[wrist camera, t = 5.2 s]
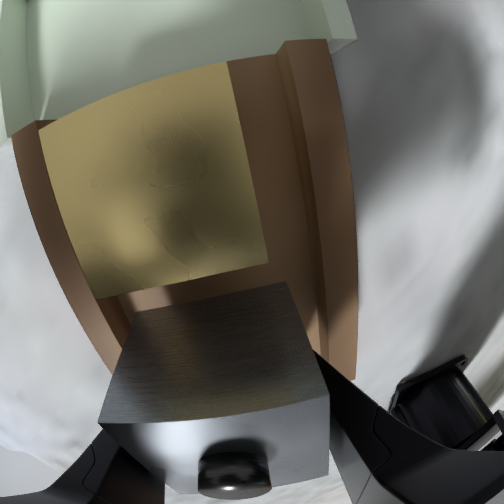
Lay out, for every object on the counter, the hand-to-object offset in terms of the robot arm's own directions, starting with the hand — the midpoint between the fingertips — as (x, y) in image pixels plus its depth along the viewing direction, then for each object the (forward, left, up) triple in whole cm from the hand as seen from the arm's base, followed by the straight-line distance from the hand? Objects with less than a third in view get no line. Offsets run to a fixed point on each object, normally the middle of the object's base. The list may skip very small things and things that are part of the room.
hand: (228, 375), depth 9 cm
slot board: (0, -3, -4) cm, 5 cm away
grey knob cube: (0, 0, -1) cm, 1 cm away
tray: (0, -13, -4) cm, 14 cm away
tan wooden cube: (0, -7, -3) cm, 7 cm away
